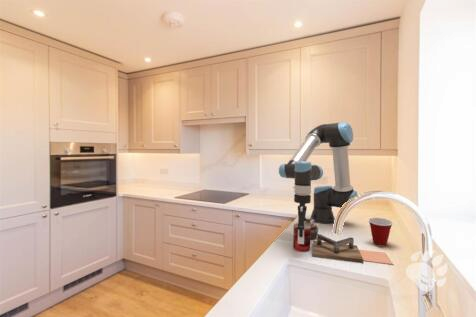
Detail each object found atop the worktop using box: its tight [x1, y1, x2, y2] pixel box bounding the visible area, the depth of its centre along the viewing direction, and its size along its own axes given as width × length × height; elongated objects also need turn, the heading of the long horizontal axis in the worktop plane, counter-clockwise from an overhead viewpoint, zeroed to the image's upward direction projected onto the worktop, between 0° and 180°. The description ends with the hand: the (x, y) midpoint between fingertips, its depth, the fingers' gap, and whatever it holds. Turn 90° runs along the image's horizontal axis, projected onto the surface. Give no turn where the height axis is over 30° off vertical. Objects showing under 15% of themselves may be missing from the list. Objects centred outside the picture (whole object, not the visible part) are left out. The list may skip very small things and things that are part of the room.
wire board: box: [312, 233, 364, 264], centre depth 111 cm, size 16×20×6 cm
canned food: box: [292, 222, 311, 252], centre depth 115 cm, size 8×8×11 cm
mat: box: [359, 249, 394, 266], centre depth 106 cm, size 12×11×1 cm
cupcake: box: [305, 217, 319, 241], centre depth 131 cm, size 10×10×10 cm
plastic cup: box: [367, 217, 394, 247], centre depth 121 cm, size 11×11×12 cm
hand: (301, 238), depth 115 cm, fingers open, 13 cm apart
